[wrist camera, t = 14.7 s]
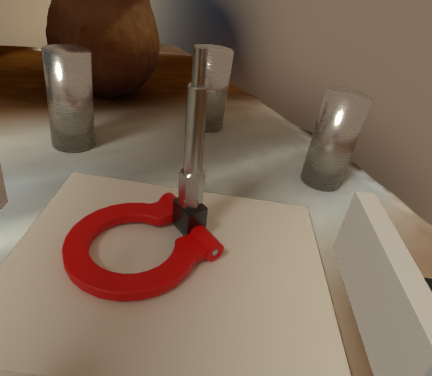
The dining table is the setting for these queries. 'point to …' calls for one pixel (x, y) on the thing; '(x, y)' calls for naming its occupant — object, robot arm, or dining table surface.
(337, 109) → the spacers
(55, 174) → the dining table surface
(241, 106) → the dining table surface
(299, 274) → the mat
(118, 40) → the butternut squash
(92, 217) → the tow hook
